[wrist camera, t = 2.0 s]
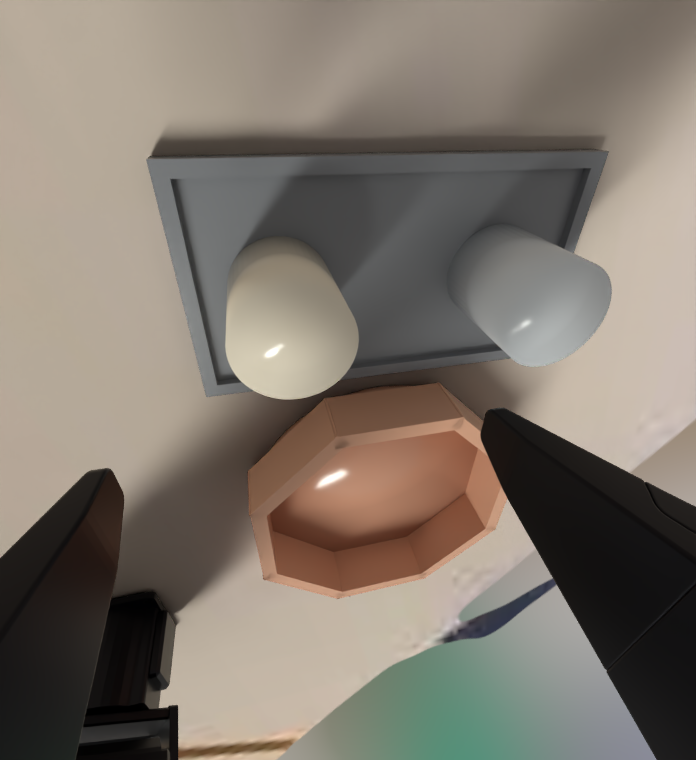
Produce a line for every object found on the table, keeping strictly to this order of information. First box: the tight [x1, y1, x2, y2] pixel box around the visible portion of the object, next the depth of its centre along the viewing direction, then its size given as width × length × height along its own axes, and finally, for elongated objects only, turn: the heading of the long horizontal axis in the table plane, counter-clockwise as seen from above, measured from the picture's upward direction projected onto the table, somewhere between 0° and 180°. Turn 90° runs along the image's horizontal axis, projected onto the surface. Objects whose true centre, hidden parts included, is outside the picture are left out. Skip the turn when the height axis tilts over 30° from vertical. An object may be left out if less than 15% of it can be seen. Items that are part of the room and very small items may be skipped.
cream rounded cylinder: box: [225, 236, 359, 399], centre depth 15 cm, size 4×4×5 cm
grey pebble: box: [447, 224, 612, 367], centre depth 17 cm, size 4×4×5 cm
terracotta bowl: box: [248, 382, 507, 599], centre depth 25 cm, size 16×16×4 cm
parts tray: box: [146, 149, 608, 397], centre depth 18 cm, size 18×10×1 cm, turn 89°
